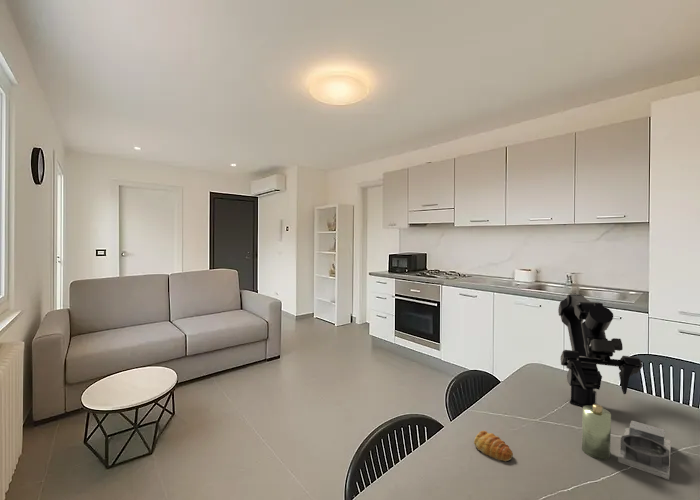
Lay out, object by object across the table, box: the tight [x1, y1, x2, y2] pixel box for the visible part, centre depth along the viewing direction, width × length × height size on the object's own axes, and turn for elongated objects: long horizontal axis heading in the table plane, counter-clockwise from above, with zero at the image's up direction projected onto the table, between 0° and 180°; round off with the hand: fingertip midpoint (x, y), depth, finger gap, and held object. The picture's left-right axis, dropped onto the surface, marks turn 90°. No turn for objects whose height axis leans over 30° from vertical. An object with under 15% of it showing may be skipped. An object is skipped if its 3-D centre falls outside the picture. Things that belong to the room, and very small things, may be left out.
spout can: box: [581, 403, 612, 461], centre depth 90 cm, size 6×6×13 cm
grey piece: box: [617, 420, 672, 481], centre depth 89 cm, size 9×18×4 cm, turn 136°
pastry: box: [473, 430, 513, 462], centre depth 90 cm, size 9×7×4 cm
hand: (604, 391), depth 95 cm, fingers open, 9 cm apart
